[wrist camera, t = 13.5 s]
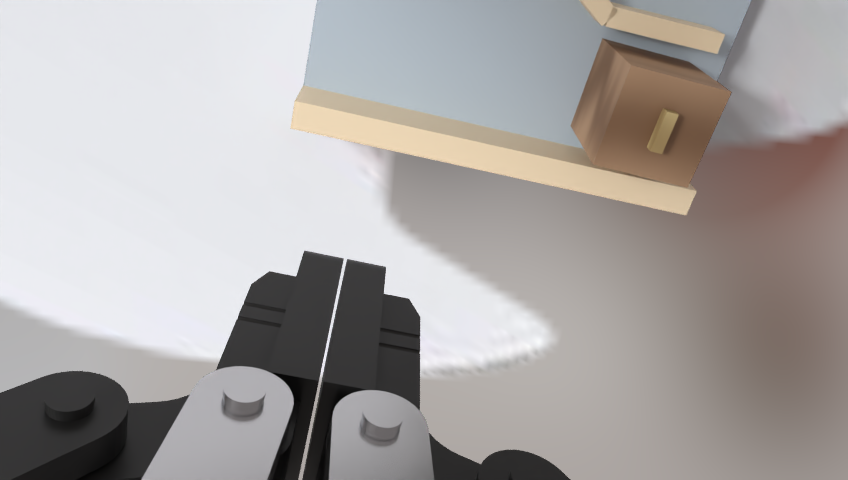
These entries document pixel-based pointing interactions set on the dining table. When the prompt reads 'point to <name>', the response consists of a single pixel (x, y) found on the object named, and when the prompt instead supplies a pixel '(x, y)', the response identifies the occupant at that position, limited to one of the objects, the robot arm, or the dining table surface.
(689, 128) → the walnut box
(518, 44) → the board
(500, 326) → the dining table surface
